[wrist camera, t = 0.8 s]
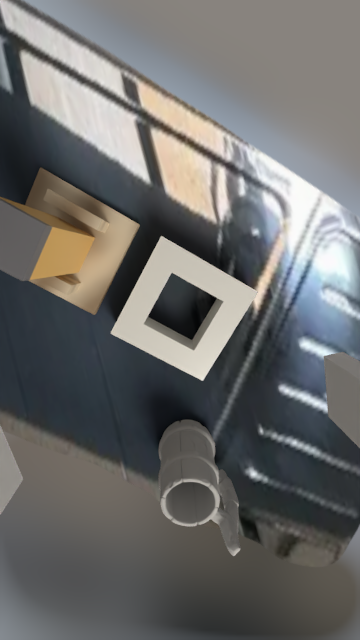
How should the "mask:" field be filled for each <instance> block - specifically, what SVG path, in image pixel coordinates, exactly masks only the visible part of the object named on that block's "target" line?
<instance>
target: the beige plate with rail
mask: <svg viewBox="0 0 360 640" xmlns="http://www.w3.org/2000/svg"><path fill="white" fill-rule="evenodd" d="M25 206H28V207H31V208H34V209H36V210H39V211H42V212H45V213H48V214H51V215H54V216H57V217H59V218H61V219H63V220H64V221H66V222H68V223H70V224H72V225H73V226H75V227H77V228H79V229H81V230H82V231H84V232H86V233H88V234H90V235H91V236H93V237H95V239H94V241H93V243H92V246H91V248H90V250H89V252H88V254H87V256H86V258H85V260H84V263H83V265H82V267H81V269H80V271H79V272H78V273H72V274H66V275H59V276H53V277H46V278H40V279H33V280H28V281H30V282H32V283H34V284H36V285H38V286H40V287H42V288H44V289H46V290H48V291H49V292H51V293H53V294H55V295H57V296H59V297H61V298H63V299H65V300H67V301H69V302H71V303H73V304H74V305H76V306H78V307H80V308H82V309H84V310H86V311H88V312H90V313H92V314H94V315H95V314H96V313H97V311H98V309H99V307H100V305H101V303H102V301H103V299H104V297H105V295H106V293H107V291H108V289H109V287H110V285H111V283H112V281H113V279H114V277H115V275H116V273H117V271H118V269H119V267H120V265H121V263H122V261H123V259H124V257H125V255H126V253H127V251H128V249H129V247H130V245H131V243H132V241H133V239H134V237H135V235H136V233H137V231H138V229H139V227H140V225H139V224H138V223H136V222H134V221H132V220H131V219H129V218H127V217H126V216H124V215H122V214H120V213H119V212H117V211H115V210H114V209H112V208H110V207H108V206H107V205H105V204H103V203H101V202H100V201H98V200H96V199H95V198H93V197H91V196H89V195H88V194H86V193H84V192H82V191H81V190H79V189H77V188H76V187H74V186H72V185H70V184H69V183H67V182H65V181H63V180H62V179H60V178H58V177H57V176H55V175H53V174H51V173H50V172H48V171H46V170H44V169H43V168H41V167H40V169H39V172H38V174H37V177H36V179H35V182H34V184H33V186H32V189H31V191H30V194H29V196H28V199H27V201H26V204H25Z"/></svg>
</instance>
